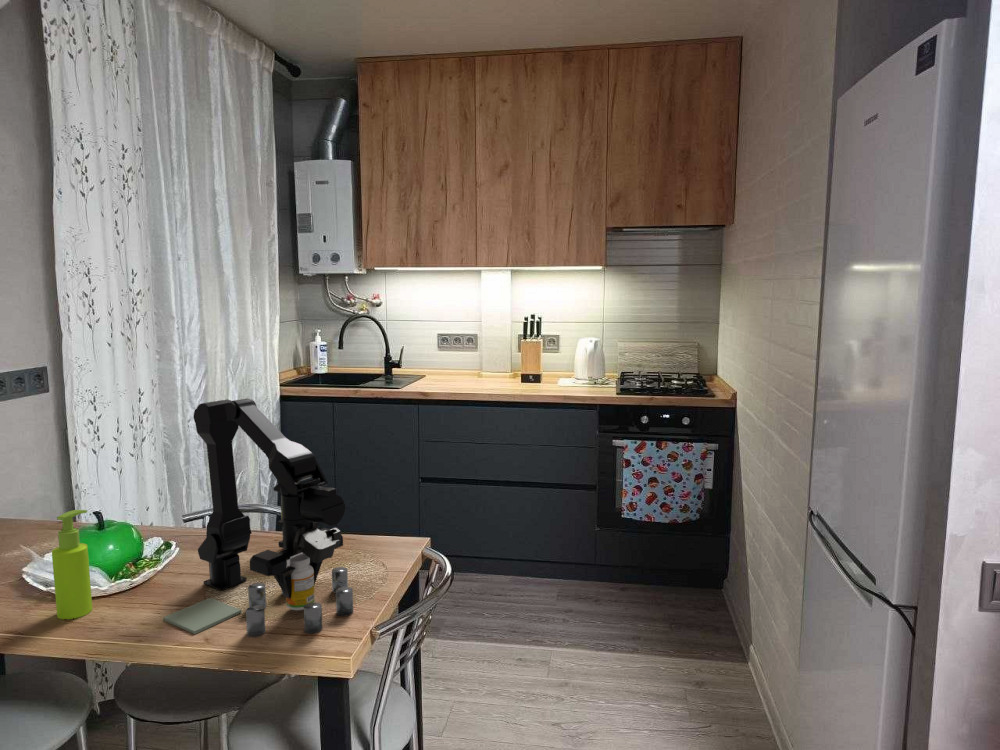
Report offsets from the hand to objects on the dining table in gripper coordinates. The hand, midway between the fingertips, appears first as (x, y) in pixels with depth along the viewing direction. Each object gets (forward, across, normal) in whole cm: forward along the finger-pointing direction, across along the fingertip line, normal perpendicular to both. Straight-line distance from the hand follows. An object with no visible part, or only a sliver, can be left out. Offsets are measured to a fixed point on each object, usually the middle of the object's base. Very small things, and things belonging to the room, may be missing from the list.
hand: (300, 592), depth 133 cm
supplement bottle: (+3, 0, 0) cm, 3 cm away
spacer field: (+4, 0, 0) cm, 4 cm away
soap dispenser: (+4, -24, +37) cm, 44 cm away
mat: (+4, -12, +14) cm, 19 cm away
